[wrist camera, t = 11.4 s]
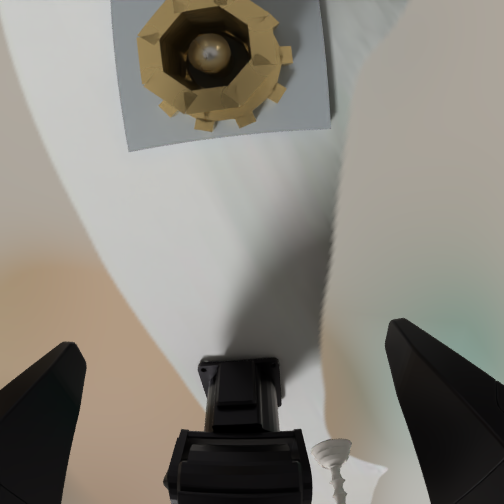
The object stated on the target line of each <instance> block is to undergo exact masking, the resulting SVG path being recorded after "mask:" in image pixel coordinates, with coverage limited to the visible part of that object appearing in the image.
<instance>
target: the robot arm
mask: <svg viewBox="0 0 504 504" xmlns="http://www.w3.org/2000/svg"><path fill="white" fill-rule="evenodd" d="M385 350H386V354H387V358H388V361H389V365H390V369H391V373H392V378H393V382H394V386H395V390H396V394H397V397H398V400H399V403H400V406H401V409H402V412H403V415H404V418H405V420H406V423H407V426H408V429H409V432H410V435H411V438H412V441H413V444H414V448H415V451H416V454H417V457H418V460H419V464H420V467H421V470H422V473H423V477H424V480H425V484H426V487H427V491H428V494H429V498H430V502H431V504H504V385H503V384H501V383H500V382H499V381H496V380H495V379H494V378H493V377H491V376H489V375H488V374H487V373H486V372H484V371H483V370H481V369H480V368H478V367H477V366H475V365H474V364H472V363H471V362H470V361H468V360H467V359H465V358H464V357H462V356H461V355H459V354H458V353H456V352H455V351H453V350H452V349H450V348H449V347H447V346H446V345H444V344H443V343H442V342H440V341H438V340H437V339H436V338H434V337H432V336H431V335H430V334H428V333H426V332H425V331H424V330H422V329H420V328H419V327H418V326H416V325H414V324H413V323H411V322H410V321H408V320H407V319H405V318H399V319H394V320H391V321H390V323H389V326H388V331H387V336H386V340H385ZM272 363H273V364H272ZM204 368H205V369H204ZM198 372H199V376H200V379H201V382H202V385H203V388H204V391H205V394H206V397H207V407H206V418H205V429H204V432H201V431H189V430H184V429H182V430H181V432H180V435H179V438H177V441H176V444H175V448H174V451H173V455H172V458H171V462H170V465H169V469H168V471H167V473H166V475H165V477H164V481H163V483H164V486H165V487H166V488H167V489H168V490H169V496H170V500H171V504H311V502H312V475H311V468H310V464H309V459H308V455H307V451H306V447H305V443H304V439H303V434H302V430H301V429H294V430H293V431H280V430H279V418H278V407H280V406H281V404H282V403H281V387H280V371H279V361H278V359H276V358H264V359H252V360H238V361H222V362H203V363H200V364H199V365H198ZM85 374H86V361H85V359H84V357H83V356H82V354H81V352H80V350H79V348H78V347H77V345H76V344H75V343H74V342H62V343H60V344H59V345H58V346H56V347H55V348H54V349H52V350H51V351H50V352H49V353H47V354H46V355H45V356H43V357H42V358H41V359H39V360H38V361H37V362H35V363H34V364H33V365H31V366H30V367H29V368H28V369H26V370H25V371H24V372H23V373H21V374H20V375H19V376H17V377H16V378H15V379H14V380H12V381H11V382H10V383H8V384H7V385H6V386H5V387H4V388H2V389H1V390H0V504H61V501H62V493H63V488H64V482H65V476H66V471H67V465H68V460H69V455H70V450H71V446H72V441H73V436H74V432H75V427H76V424H77V420H78V415H79V411H80V405H81V399H82V392H83V386H84V379H85Z"/></svg>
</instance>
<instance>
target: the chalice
mask: <svg viewBox="0 0 504 504" xmlns="http://www.w3.org/2000/svg"><path fill="white" fill-rule="evenodd" d="M351 444H352V443H351V442H350V440H347V439H332V440H327V441H324V442H321V443H319V444H317V445H316V446H314V447H313V448H312V450H311V454H312V455H313V456H314V457H315V460H316V461H318V464H319V465H320V466H322V467H323V468H327V469H329V470H331V473H332V481H331V482H330V484H331V485H333V487H334V489H335V492H334V495H333V498H335V500H336V502H337V504H346V503H345V498H346V495H347V493H346V492H345V491H344V489H343V483H344V481H345V479H343V478H342V477H341V474H340V468H341V467H342V466H341V465H343V464H345V463H346V461H347V460H348V458H349V456H348V455H349V453H350V447H351Z"/></svg>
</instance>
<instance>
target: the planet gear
mask: <svg viewBox="0 0 504 504" xmlns="http://www.w3.org/2000/svg"><path fill="white" fill-rule="evenodd" d="M278 25H279V22H278V21H277V20H276V19H275V18H274V17H273V16H272V15H271V14H270V13H269V12H268V11H265V10H264V9H262V8H261V7H259V6H258V5H256V4H255V3H253V2H252V1H250V0H166V1H165V2H164V3H163V4H162V5H161V6H160V7H159V9H158V10H157V11H156V12H155V13H154V15H153V16H152V17H151V18H150V20H149V21H148V22H147V23H146V25H145V26H144V27H143V28H142V30H141V31H140V32H139V34H138V36H139V37H137V38H136V39H137V48H138V56H139V65H140V73H141V80H142V84H145V85H144V86H143V87H145V88H146V89H148V90H149V91H151V92H152V93H154V94H155V95H157V96H158V97H160V98H161V99H163V101H162V102H161V103H160V104H159V105H158V106H159V107H160V108H161V109H162V110H163V111H164V112H165V113H166V114H167V115H168V116H169V117H170V118H171V117H174V116H176V115H177V114H178V113H179V112H181V113H183V114H186V115H190V116H192V117H194V118H196V121H195V127H194V129H196V130H202V131H208V132H213V131H214V129H215V124H216V121H222V120H229V119H235V120H236V122H237V124H238V126H239V129H240V128H242V127H244V126H247V125H249V124H251V123H254V122H256V119H255V116H254V114H253V112H252V111H253V110H254V109H255V108H257V107H258V106H259V105H260V104H261V103H262V102H264V101H265V100H266V99H269V100H271V101H273V102H274V103H277V104H278V102H279V100H280V99H281V97H282V96H283V94H284V92H285V91H286V89H287V88H285V87H284V86H282V85H280V84H279V83H277V82H278V77H279V73H280V69H281V66H286V65H291V64H292V63H293V58H292V50H291V46H279V44H278V42H277V40H276V38H275V36H274V34H273V30H275V29H276V28H277V27H278ZM209 33H211V34H217V35H220V36H221V37H223V36H226V37H228V38H230V39H233V40H235V41H237V42H239V43H241V44H242V45H243V47H244V49H245V51H246V53H247V55H248V57H249V62H248V63H247V64H246V66H245V67H244V68H243V69H242V70H241V71H240V73H239V74H238V75H237V76H236V77H235V78H234V80H233V81H232V82H231V83H230V84H229V86H222V87H215V88H208V89H206V88H204V87H202V86H199V85H197V84H196V82H195V80H194V78H193V76H192V74H191V72H190V70H189V65H190V61H189V58H188V49H189V47H190V45H191V43H192V42H193V41H194V40H195V39H196V38H197V37H199V36H201V35H203V34H209Z"/></svg>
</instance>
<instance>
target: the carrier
mask: <svg viewBox="0 0 504 504" xmlns="http://www.w3.org/2000/svg"><path fill="white" fill-rule="evenodd" d="M165 1H166V0H111V16H112V29H113V41H114V52H115V61H116V70H117V79H118V86H119V94H120V101H121V108H122V114H123V121H124V127H125V133H126V139H127V145H128V150H129V152H132V151H138V150H143V149H148V148H154V147H159V146H165V145H171V144H178V143H184V142H191V141H198V140H205V139H213V138H221V137H229V136H238V135H248V134H258V133H270V132H283V131H298V130H318V129H331V121H330V105H329V90H328V78H327V66H326V56H325V46H324V37H323V28H322V20H321V12H320V5H319V0H250V1H252V2H253V3H255V4H256V5H258V6H259V7H261V8H262V9H264V10H265V11H268V12H269V13H270V14H271V15H272V16H273V17H274V18H275V19H276V20H277V21H278V22H279V25H278V27H277V28H276V29H275V30H273V34H274V36H275V38H276V40H277V42H278V44H279V46H291V50H292V58H293V63H292V64H291V65H286V66H281V69H280V73H279V77H278V82H277V83H279V84H280V85H282V86H284V87H285V88H287V89H286V91H285V92H284V94H283V96H282V97H281V99H280V100H279V102H278V104H277V103H274V102H273V101H271V100H269V99H266V100H265V101H264V102H262V103H261V104H260V105H259V106H258V107H257V108H255V109H254V110H253V111H252V112H253V114H254V116H255V119H256V122H254V123H251V124H249V125H247V126H244V127H242V128H240V129H239V126H238V124H237V122H236V120H235V119H229V120H222V121H216V124H215V129H214V131H213V132H208V131H202V130H196V129H194V127H195V121H196V118H194V117H192V116H190V115H186V114H183V113H181V112H179V113H178V114H177V115H176V116H174V117H171V118H170V117H169V116H168V115H167V114H166V113H165V112H164V111H163V110H162V109H161V108H160V107H159V106H158V105H159V104H160V103H161V102H162V101H163V99H161V98H160V97H158V96H157V95H155V94H154V93H152V92H151V91H149V90H148V89H146V88H145V87H143V86H144V85H145V84H142V80H141V73H140V65H139V56H138V48H137V39H136V38H137V37H139V36H138V34H139V32H140V31H141V30H142V28H143V27H144V26H145V25H146V23H147V22H148V21H149V20H150V18H151V17H152V16H153V15H154V13H155V12H156V11H157V10H158V9H159V7H160V6H161V5H162V4H163V3H164V2H165ZM188 58H189V61H190V65H189V70H190V72H191V74H192V76H193V78H194V80H195V82H196V84H197V85H199V86H202V87H204V88H206V89H208V88H215V87H222V86H229V84H230V83H231V82H232V81H233V80H234V78H235V77H236V76H237V75H238V74H239V73H240V71H241V70H242V69H243V68H244V67H245V66H246V64H247V63H248V62H249V57H248V55H247V53H246V51H245V49H244V47H243V45H242V44H241V43H239V42H237V41H235V40H233V39H230V38H228V37H226V36H223V37H221V36H220V35H217V34H211V33H209V34H203V35H201V36H199V37H197V38H196V39H195V40H194V41H193V42H192V43H191V45H190V47H189V49H188Z"/></svg>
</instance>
